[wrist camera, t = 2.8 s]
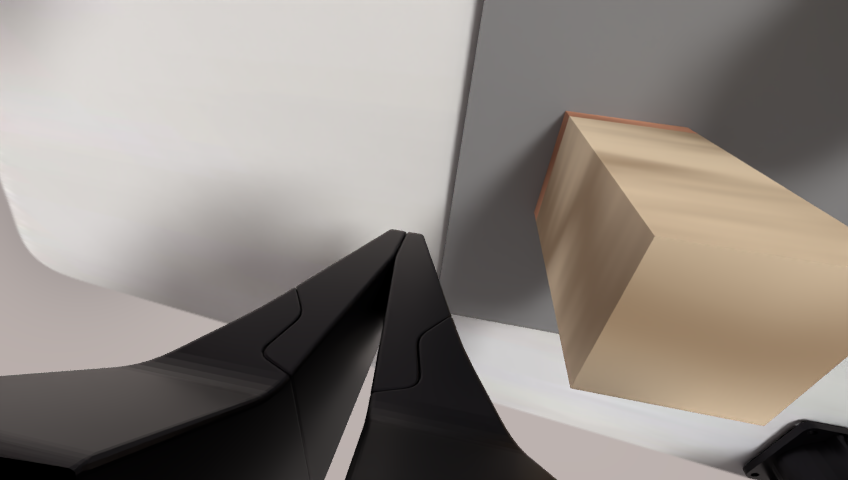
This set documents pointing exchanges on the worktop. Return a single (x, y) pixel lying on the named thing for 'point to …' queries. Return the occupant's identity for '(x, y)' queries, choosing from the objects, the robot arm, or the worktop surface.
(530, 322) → the mat
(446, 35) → the worktop surface
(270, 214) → the worktop surface
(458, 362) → the robot arm
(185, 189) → the worktop surface
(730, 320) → the beech block
